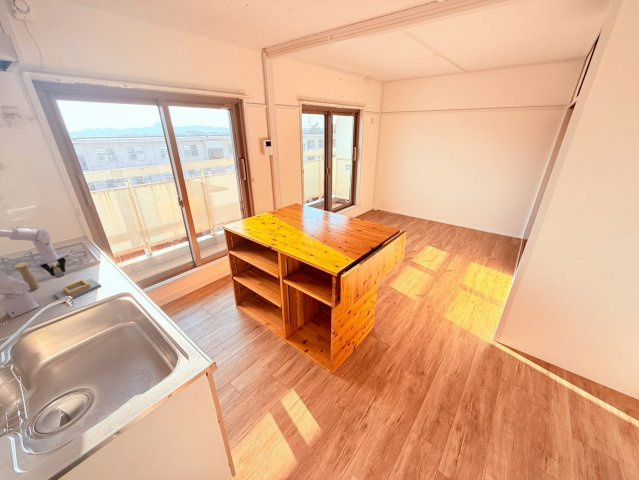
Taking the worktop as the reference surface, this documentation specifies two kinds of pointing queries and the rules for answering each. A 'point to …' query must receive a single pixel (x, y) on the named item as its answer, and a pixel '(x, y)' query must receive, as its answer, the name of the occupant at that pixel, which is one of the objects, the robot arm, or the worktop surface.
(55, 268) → the valve stub
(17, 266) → the handle
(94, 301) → the worktop surface
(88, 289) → the fitting base
